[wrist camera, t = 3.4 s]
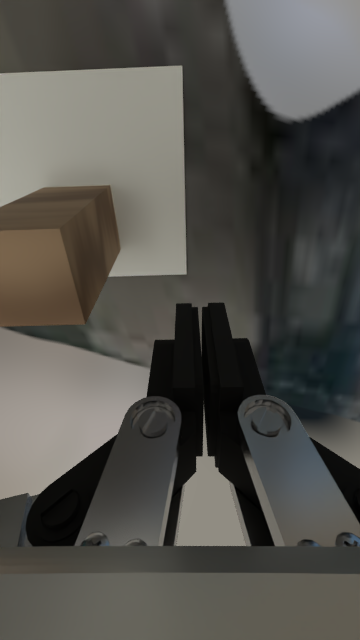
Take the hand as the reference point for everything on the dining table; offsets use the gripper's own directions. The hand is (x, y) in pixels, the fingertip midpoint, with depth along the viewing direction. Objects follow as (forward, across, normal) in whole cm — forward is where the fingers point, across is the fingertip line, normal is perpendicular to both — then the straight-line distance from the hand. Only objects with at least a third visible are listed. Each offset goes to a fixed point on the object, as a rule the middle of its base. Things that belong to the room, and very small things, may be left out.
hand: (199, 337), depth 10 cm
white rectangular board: (+15, +12, -3) cm, 20 cm away
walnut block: (+15, +8, -1) cm, 17 cm away
